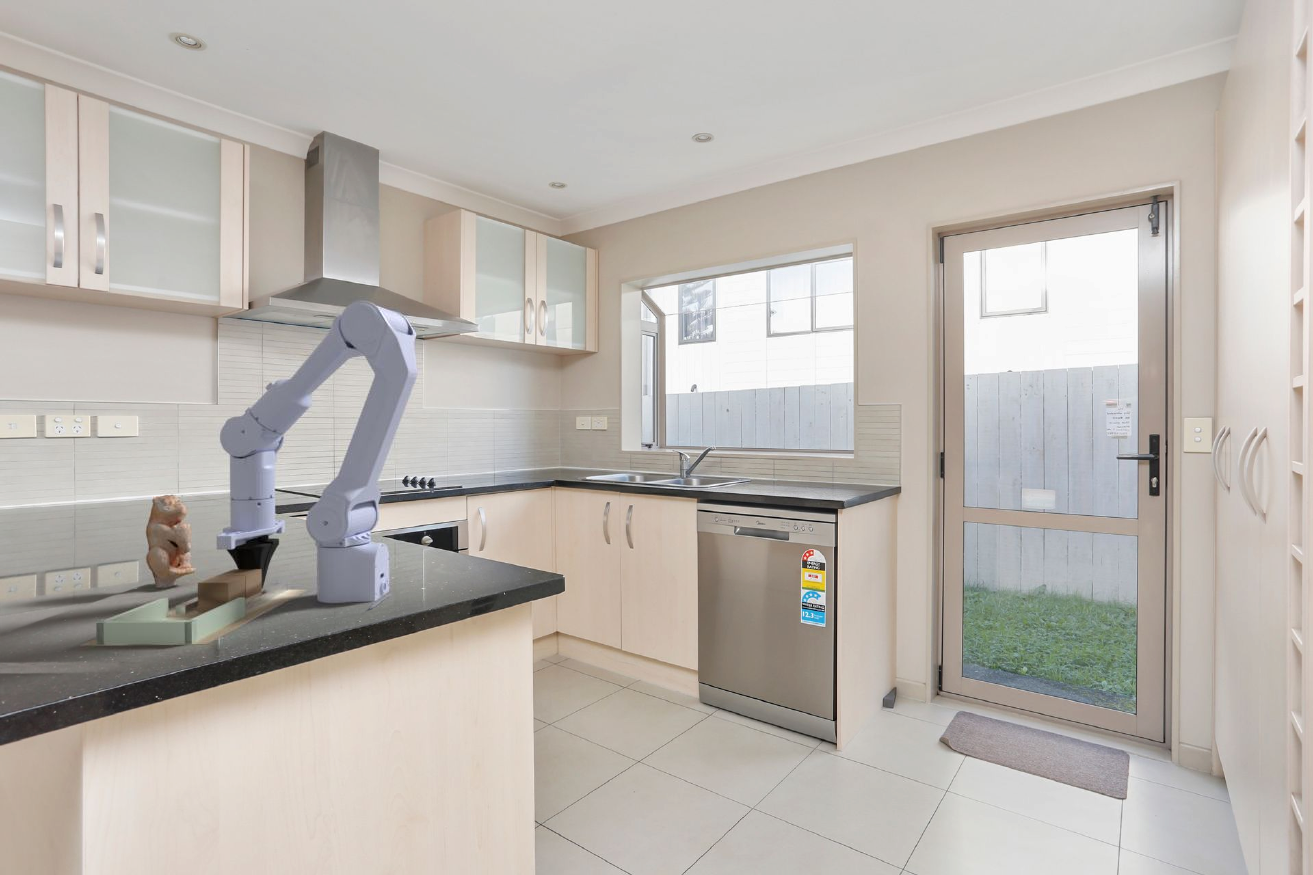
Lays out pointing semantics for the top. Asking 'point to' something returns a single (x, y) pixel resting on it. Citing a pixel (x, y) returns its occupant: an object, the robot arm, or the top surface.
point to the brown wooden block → (248, 580)
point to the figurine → (168, 541)
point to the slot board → (248, 617)
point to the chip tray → (165, 624)
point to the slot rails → (249, 602)
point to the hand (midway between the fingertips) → (253, 588)
